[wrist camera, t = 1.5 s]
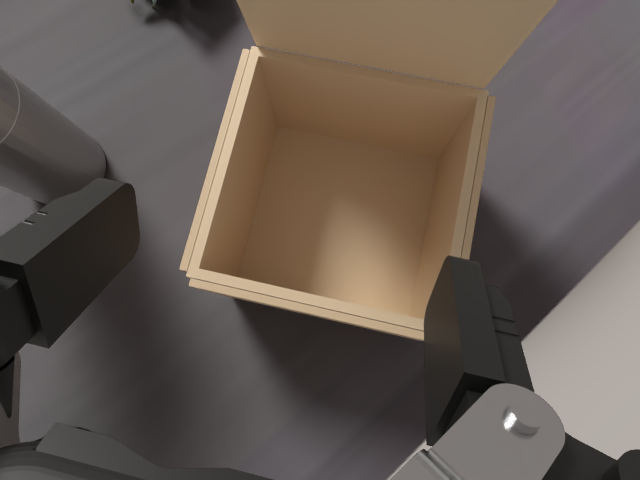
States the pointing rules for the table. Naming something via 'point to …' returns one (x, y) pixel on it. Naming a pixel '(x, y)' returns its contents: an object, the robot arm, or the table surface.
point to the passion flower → (152, 2)
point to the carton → (339, 190)
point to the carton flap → (401, 33)
